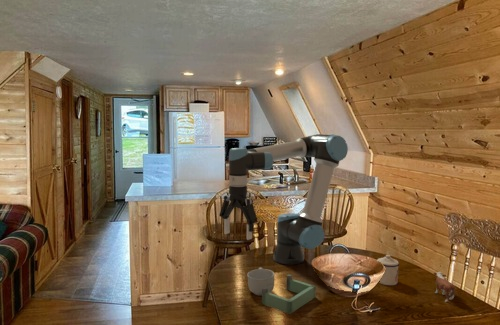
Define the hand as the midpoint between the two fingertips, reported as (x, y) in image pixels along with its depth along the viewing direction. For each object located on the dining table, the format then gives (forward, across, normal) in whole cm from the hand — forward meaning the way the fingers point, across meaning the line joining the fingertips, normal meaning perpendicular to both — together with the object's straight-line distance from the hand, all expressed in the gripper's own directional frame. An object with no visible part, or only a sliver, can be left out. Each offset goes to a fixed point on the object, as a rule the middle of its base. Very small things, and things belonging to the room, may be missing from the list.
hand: (237, 236), depth 162 cm
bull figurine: (+21, +71, +42) cm, 85 cm away
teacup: (+20, +13, 0) cm, 24 cm away
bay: (+20, +26, 0) cm, 33 cm away
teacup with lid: (+21, +48, +44) cm, 68 cm away
